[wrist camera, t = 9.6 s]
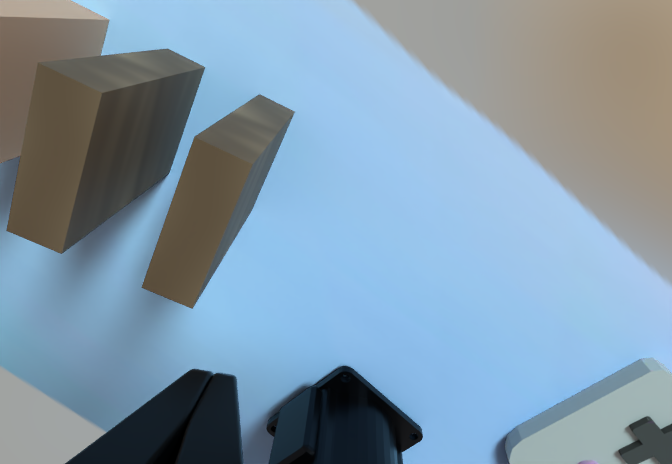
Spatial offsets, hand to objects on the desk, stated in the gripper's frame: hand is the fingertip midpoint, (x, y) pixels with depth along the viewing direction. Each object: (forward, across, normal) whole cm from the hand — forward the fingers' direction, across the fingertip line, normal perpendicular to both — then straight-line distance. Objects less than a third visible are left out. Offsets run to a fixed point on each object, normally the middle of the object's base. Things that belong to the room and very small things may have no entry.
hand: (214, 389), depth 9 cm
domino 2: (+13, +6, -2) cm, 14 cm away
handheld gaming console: (+14, -22, +14) cm, 29 cm away
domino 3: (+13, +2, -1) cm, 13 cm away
